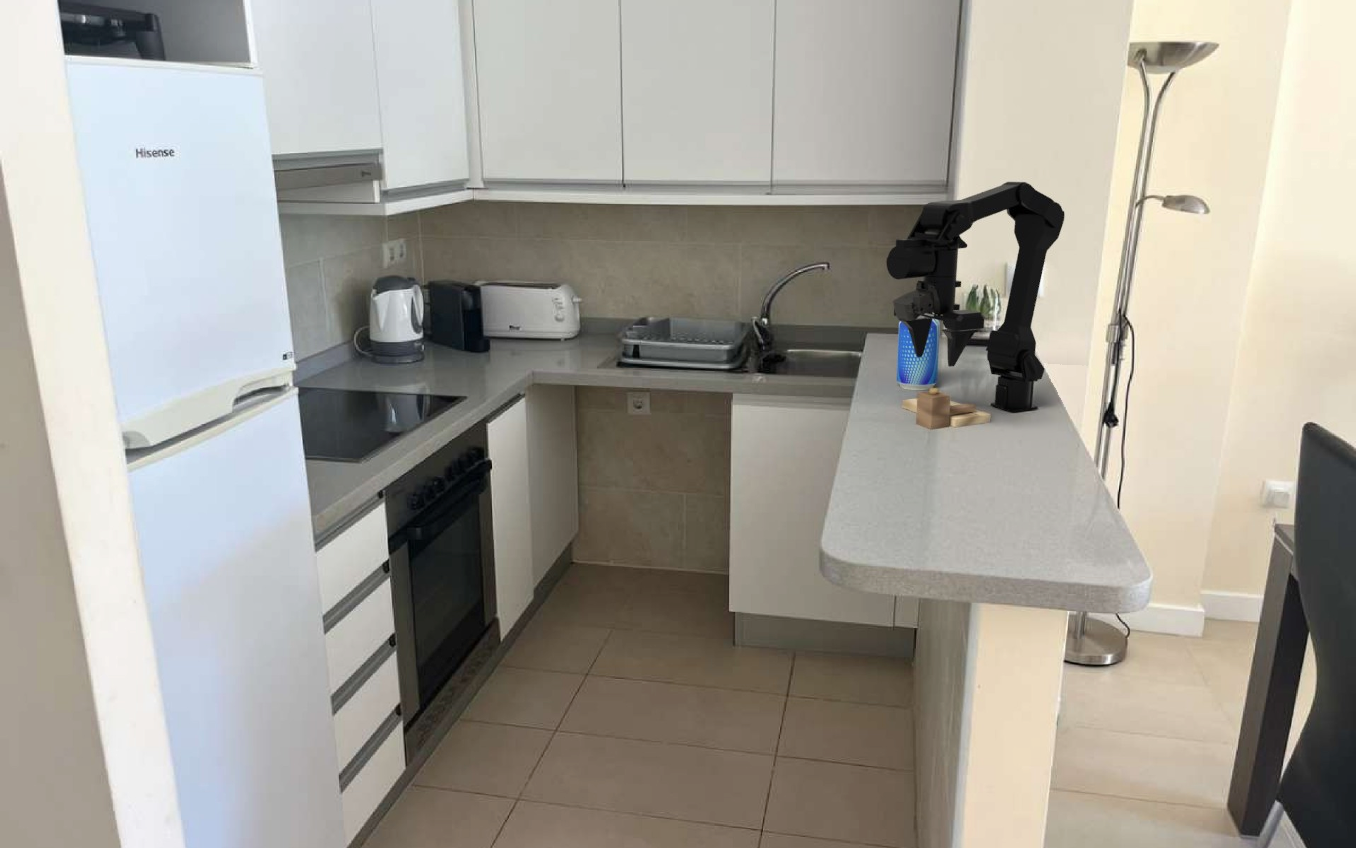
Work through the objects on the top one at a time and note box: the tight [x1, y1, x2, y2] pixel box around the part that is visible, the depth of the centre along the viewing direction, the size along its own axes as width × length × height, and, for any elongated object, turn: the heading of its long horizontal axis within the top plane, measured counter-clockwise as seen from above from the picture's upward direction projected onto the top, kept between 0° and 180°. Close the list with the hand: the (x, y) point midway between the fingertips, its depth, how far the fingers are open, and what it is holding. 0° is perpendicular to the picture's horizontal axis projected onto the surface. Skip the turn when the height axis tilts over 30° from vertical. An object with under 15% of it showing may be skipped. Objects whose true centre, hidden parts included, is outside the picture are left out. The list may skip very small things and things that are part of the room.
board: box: [902, 398, 991, 428], centre depth 191 cm, size 8×16×2 cm, turn 24°
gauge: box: [915, 387, 977, 431], centre depth 185 cm, size 11×4×7 cm, turn 114°
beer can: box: [896, 313, 941, 391], centre depth 211 cm, size 8×8×16 cm
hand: (934, 361), depth 181 cm, fingers open, 9 cm apart
